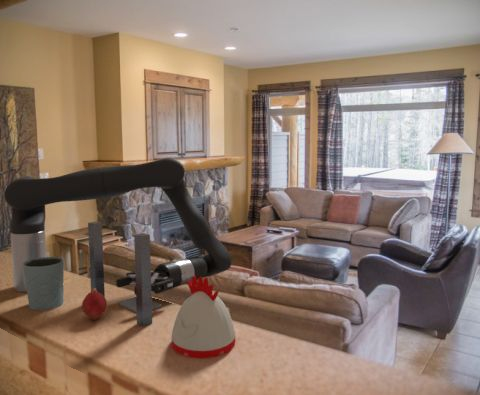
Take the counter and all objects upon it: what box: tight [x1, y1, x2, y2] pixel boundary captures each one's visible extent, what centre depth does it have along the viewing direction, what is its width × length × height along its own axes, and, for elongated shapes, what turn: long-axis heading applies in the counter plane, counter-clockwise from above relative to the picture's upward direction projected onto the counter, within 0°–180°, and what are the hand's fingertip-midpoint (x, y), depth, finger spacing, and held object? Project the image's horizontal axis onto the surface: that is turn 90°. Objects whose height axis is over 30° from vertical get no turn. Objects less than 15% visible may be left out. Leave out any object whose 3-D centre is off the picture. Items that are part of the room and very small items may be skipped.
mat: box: [117, 296, 162, 314], centre depth 119 cm, size 10×7×1 cm
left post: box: [87, 221, 106, 298], centre depth 121 cm, size 3×3×22 cm
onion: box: [81, 289, 108, 321], centre depth 109 cm, size 6×6×8 cm
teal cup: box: [23, 256, 65, 311], centre depth 119 cm, size 10×10×12 cm
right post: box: [133, 232, 153, 328], centre depth 106 cm, size 3×3×22 cm
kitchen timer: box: [171, 276, 236, 359], centre depth 97 cm, size 14×14×15 cm
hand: (125, 287), depth 116 cm, fingers open, 8 cm apart
